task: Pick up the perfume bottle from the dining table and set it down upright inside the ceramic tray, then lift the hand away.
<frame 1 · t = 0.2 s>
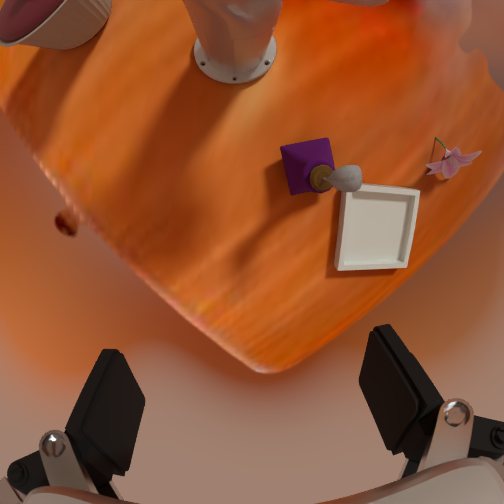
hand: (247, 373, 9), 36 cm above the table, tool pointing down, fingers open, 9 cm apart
perfume bottle: (304, 164, 41), on the table
canister: (84, 21, 28), on the table
lily: (435, 158, 41), on the table
tray: (375, 225, 46), on the table
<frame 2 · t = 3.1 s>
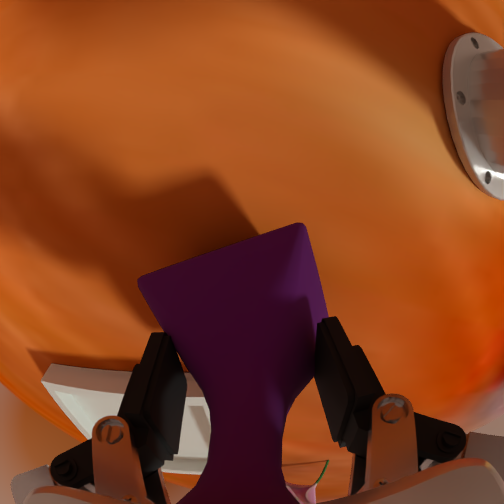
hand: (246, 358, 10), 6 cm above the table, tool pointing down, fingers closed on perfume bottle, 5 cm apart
perfume bottle: (243, 286, 15), on the table, touching gripper
lily: (295, 466, 26), on the table
tray: (150, 423, 20), on the table
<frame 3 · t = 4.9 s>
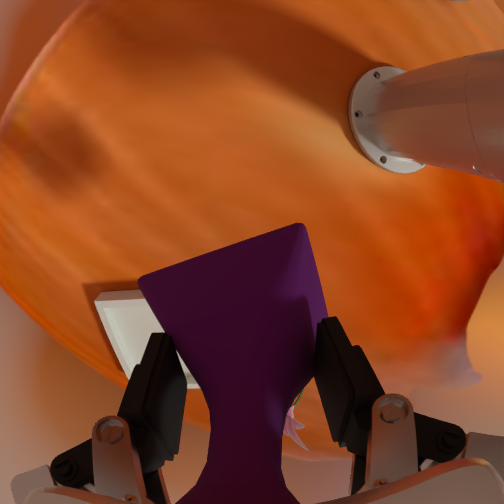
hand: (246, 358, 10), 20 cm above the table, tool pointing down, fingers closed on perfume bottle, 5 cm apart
perfume bottle: (243, 286, 15), point 14 cm above the table, touching gripper
lily: (276, 393, 39), on the table
tray: (169, 338, 33), on the table
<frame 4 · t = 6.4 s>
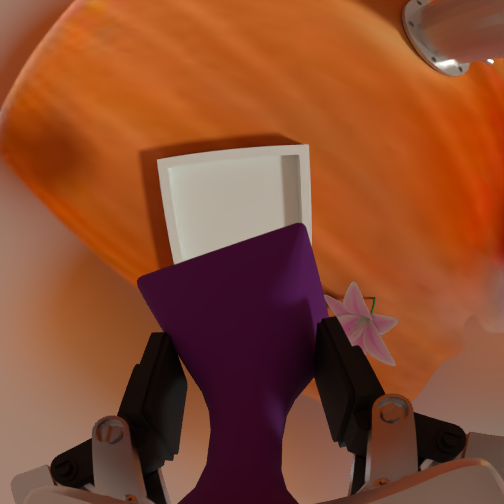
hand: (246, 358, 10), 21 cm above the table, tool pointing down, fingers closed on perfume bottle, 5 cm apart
perfume bottle: (243, 287, 15), point 16 cm above the table, touching gripper
lily: (347, 305, 36), on the table
tray: (238, 217, 30), on the table
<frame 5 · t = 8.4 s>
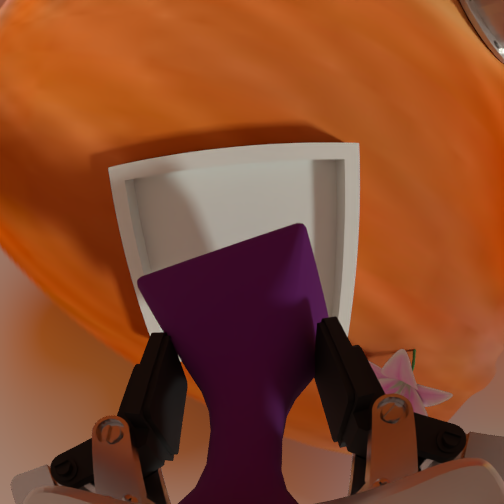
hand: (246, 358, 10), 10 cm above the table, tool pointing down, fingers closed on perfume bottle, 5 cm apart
perfume bottle: (243, 287, 15), point 4 cm above the table, touching gripper
lily: (380, 361, 25), on the table
tray: (242, 256, 19), on the table
when the fingers open (8 cm above the table, at t = 9.7 s): perfume bottle drops 1 cm, resting on tray.
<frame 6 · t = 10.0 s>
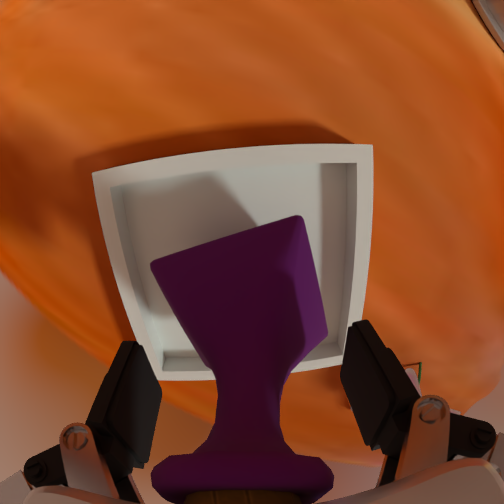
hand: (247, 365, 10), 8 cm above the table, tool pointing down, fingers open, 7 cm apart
perfume bottle: (244, 272, 17), point 1 cm above the table, touching tray
tray: (242, 269, 17), on the table
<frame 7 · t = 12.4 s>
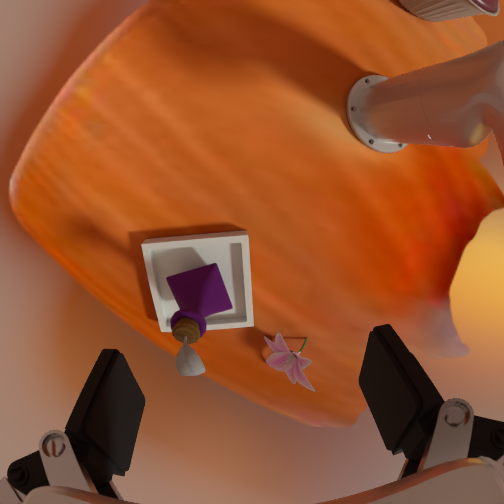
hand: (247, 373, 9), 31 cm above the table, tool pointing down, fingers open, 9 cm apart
perfume bottle: (201, 282, 41), point 1 cm above the table, touching tray
lily: (284, 343, 48), on the table
tray: (200, 281, 41), on the table
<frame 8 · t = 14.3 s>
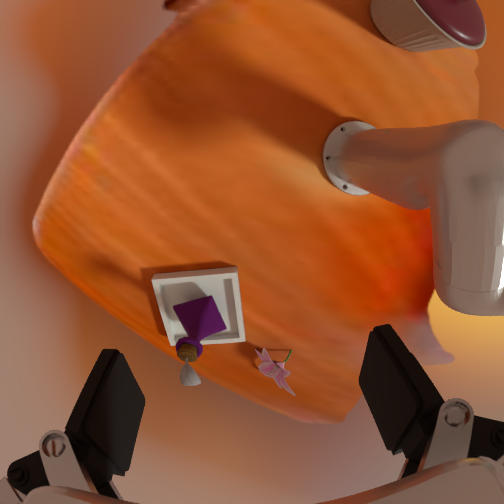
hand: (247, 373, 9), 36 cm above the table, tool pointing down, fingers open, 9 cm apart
perfume bottle: (201, 307, 50), point 1 cm above the table, touching tray
canister: (396, 24, 31), on the table
lily: (272, 354, 56), on the table
tray: (201, 306, 50), on the table
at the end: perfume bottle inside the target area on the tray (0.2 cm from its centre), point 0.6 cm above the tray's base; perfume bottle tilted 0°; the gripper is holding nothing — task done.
